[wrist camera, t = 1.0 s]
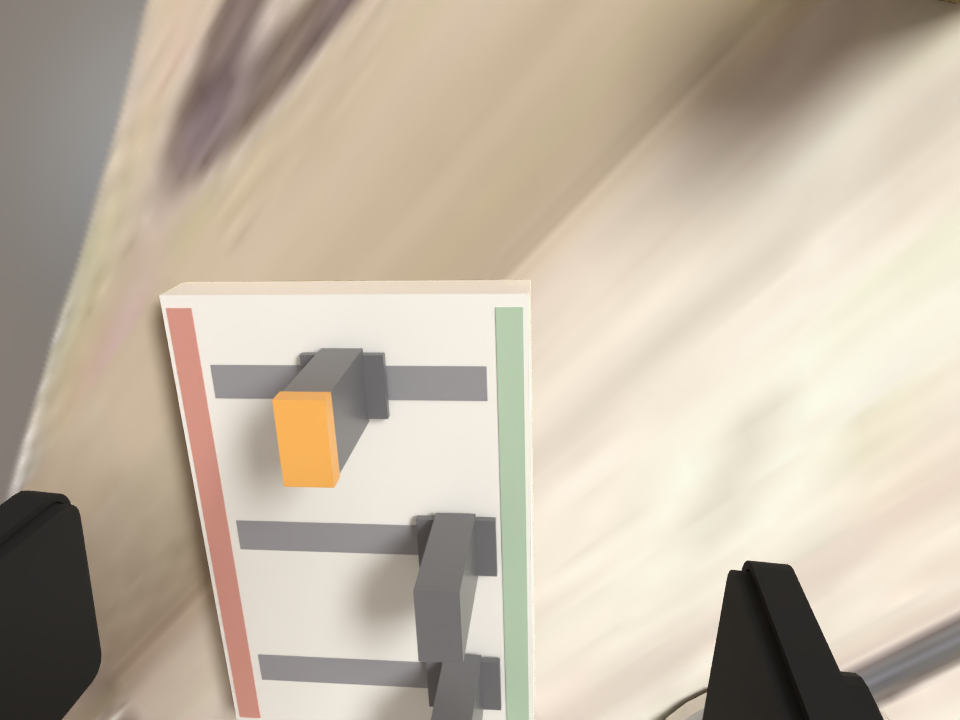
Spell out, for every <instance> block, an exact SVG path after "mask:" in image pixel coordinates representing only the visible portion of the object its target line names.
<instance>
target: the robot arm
mask: <svg viewBox="0 0 960 720" xmlns="http://www.w3.org/2000/svg"><path fill="white" fill-rule="evenodd" d="M100 664H101V647H100V641H99V634H98V628H97V621H96V615H95V608H94V602H93V595H92V588H91V582H90V575H89V569H88V562H87V556H86V549H85V543H84V536H83V530H82V523H81V517H80V513H79V510H78V509H77V507H76V506H74V505H71V503H70V501H69V499H68V498H67V496H65V495H63V494H58V493H47V492H37V491H21V492H19V493H17V494H15V495H14V496H12V497H11V498H10V499H8V500H7V501H5V502H4V503H3V504H1V505H0V720H62V719H63V717H64V716H65V715H66V714H67V712H68V711H69V710H70V709H71V707H72V706H73V705H74V704H75V702H76V701H77V700H78V699H79V698H80V696H81V695H82V694H83V693H84V691H85V690H86V689H87V688H88V686H89V685H90V684H91V683H92V681H93V680H94V678H95V677H96V675H97V673H98V670H99V667H100ZM665 720H889V719H888V718H887V717H886V716H885V715H884V714H883V713H881V712H880V711H879V709H878V707H877V705H876V703H875V701H874V698H873V696H872V694H871V692H870V690H869V688H868V686H867V685H866V683H865V682H864V680H863V679H862V677H860V676H859V675H857V674H856V673H850V672H841V671H840V670H839V668H838V666H837V664H836V661H835V659H834V657H833V655H832V653H831V650H830V648H829V646H828V644H827V642H826V640H825V637H824V635H823V633H822V631H821V629H820V626H819V624H818V622H817V620H816V618H815V616H814V613H813V611H812V609H811V607H810V605H809V603H808V600H807V598H806V596H805V594H804V592H803V589H802V587H801V585H800V583H799V581H798V579H797V576H796V574H795V572H794V570H793V568H792V567H791V566H790V565H788V564H778V563H767V562H757V561H746V562H745V563H744V565H743V567H742V571H738V570H731V571H729V574H728V577H727V581H726V587H725V593H724V598H723V604H722V610H721V615H720V621H719V627H718V633H717V638H716V644H715V650H714V655H713V661H712V667H711V673H710V678H709V684H708V690H707V692H706V693H704V694H702V695H700V696H698V697H696V698H694V699H692V700H690V701H688V702H687V703H685V704H684V705H683V706H681V707H680V708H679V709H677V710H676V711H675V712H673V713H672V714H671V715H669V716H668V717H667V718H666V719H665Z"/></svg>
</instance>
